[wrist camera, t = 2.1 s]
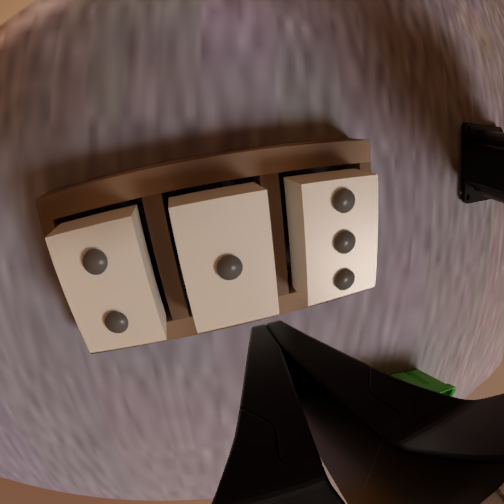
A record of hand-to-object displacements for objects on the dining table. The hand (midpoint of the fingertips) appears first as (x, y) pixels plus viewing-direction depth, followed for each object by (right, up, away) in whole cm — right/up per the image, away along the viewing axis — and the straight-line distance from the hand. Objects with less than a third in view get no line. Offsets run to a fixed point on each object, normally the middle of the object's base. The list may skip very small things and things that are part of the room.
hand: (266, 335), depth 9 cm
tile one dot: (-2, +3, +7) cm, 7 cm away
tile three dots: (+3, +4, +8) cm, 9 cm away
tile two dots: (-7, +1, +6) cm, 9 cm away
